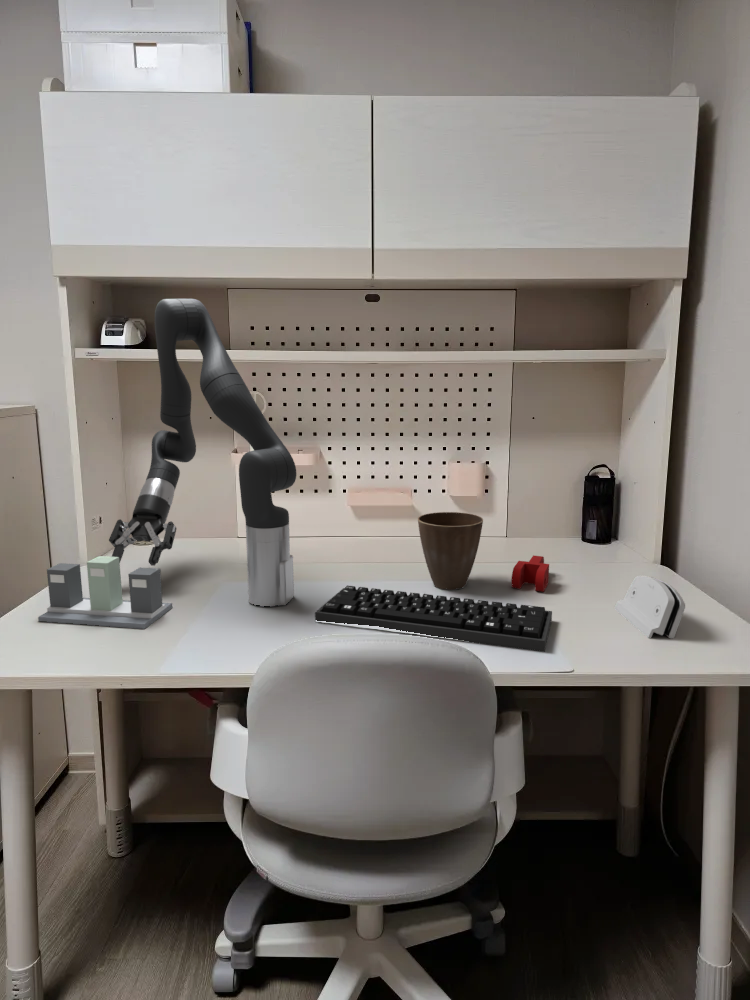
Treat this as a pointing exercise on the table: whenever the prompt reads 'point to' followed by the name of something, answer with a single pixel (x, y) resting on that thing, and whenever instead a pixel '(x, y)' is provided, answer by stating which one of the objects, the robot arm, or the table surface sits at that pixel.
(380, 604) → the computer keyboard
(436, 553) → the plant pot
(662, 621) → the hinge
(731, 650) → the table surface
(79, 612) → the rail board
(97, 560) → the block
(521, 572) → the mechanical linkage
